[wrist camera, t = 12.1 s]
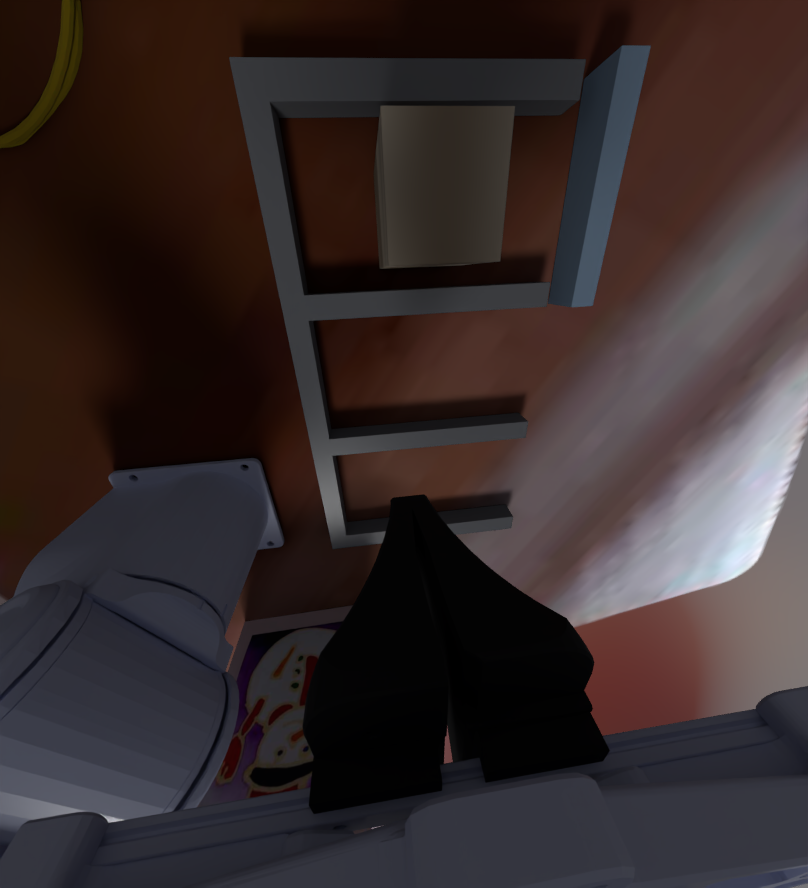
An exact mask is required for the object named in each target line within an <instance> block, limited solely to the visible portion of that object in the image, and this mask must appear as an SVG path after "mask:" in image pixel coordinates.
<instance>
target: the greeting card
mask: <svg viewBox="0 0 808 888" xmlns="http://www.w3.org/2000/svg"><path fill="white" fill-rule="evenodd" d="M352 606H353V605H352ZM352 606H345V607H338V608H332V609H325V610H319V611H312V612H305V613H299V614H292V615H286V616H279V617H272V618H266V619H259V620H253V621H246V622H245V623H244V626H243V629H242V632H241V635H240V638H239V641H238V644H237V647H236V650H235V652H234V655H233V658H232V661H231V664H230V667H229V670H228V673H229V674H230V675H232V676H233V678H234V679H235V681H236V683H237V686H238V690H239V709H238V716H237V721H236V725H235V729H234V733H233V736H232V739H231V742H230V745H229V748H228V750H227V753H226V756H225V758H224V760H223V763H222V765H221V767H220V769H219V771H218V773H217V775H216V777H215V779H214V781H213V782H212V784H211V786H210V787H209V789H208V791H207V792H206V794H205V796H204V797H203V799H202V800H201V802H200V803H199V805H198V806H197V807H202V806H207V805H213V804H219V803H224V802H230V801H236V800H241V799H247V798H253V797H258V796H264V795H270V794H275V793H281V792H287V791H292V790H298V789H304V788H310V786H311V777H312V767H313V757H314V756H313V754H312V752H311V750H310V747H309V745H308V743H307V741H306V738H305V736H304V734H303V727H302V725H303V718H304V710H305V703H306V697H307V693H308V689H309V685H310V681H311V678H312V675H313V672H314V669H315V666H316V663H317V661H318V658H319V655H320V653H321V651H322V650H323V649H324V647H325V646H326V645H327V643H328V642H329V640H330V639H331V638H332V636H333V635H334V634H335V632H336V631H337V629H338V628H339V627H340V625H341V624H342V622H343V621H344V619H345V617H346V616H347V614H348V613H349V611H350V609H351V608H352ZM368 830H371V828H367V829H361V830H356V831H353V832H354V834H358V833H361V832H364V831H368Z"/></svg>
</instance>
